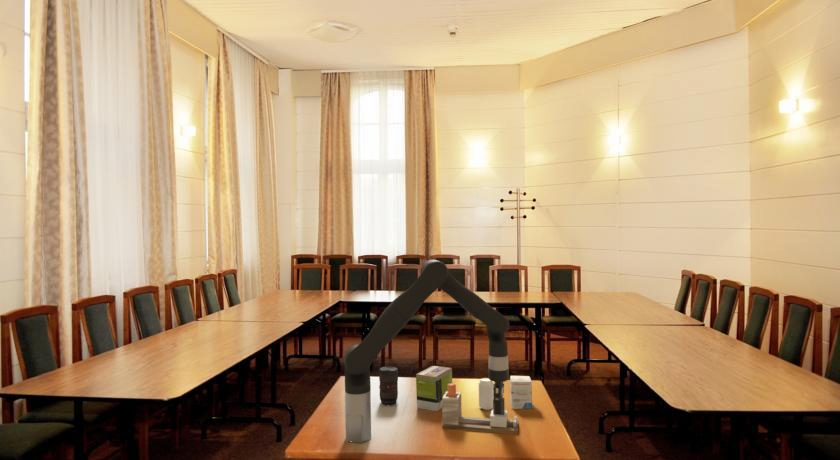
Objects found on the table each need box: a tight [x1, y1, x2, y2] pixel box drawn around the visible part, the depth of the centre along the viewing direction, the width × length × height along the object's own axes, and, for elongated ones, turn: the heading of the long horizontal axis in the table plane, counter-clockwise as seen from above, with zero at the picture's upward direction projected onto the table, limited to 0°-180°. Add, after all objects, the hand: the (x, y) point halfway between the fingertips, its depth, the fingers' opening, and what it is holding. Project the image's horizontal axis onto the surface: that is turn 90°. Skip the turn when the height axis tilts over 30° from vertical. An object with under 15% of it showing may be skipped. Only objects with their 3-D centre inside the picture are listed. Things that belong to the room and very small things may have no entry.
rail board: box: [441, 391, 520, 435], centre depth 199 cm, size 10×28×11 cm, turn 76°
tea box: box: [415, 365, 453, 412], centre depth 223 cm, size 15×10×15 cm, turn 149°
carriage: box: [489, 397, 509, 428], centre depth 197 cm, size 7×6×9 cm
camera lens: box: [378, 366, 399, 406], centre depth 226 cm, size 8×8×15 cm
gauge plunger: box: [448, 382, 457, 397], centre depth 201 cm, size 3×3×10 cm
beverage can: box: [478, 377, 494, 411], centre depth 218 cm, size 6×6×12 cm
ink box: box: [509, 375, 533, 410], centre depth 221 cm, size 9×8×12 cm
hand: (499, 410), depth 197 cm, fingers open, 7 cm apart
